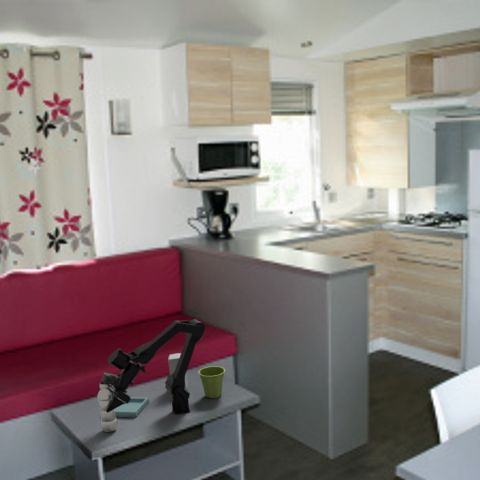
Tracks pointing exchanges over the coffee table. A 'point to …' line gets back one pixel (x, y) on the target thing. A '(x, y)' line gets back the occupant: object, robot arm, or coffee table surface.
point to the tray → (131, 407)
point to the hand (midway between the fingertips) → (104, 408)
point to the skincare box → (173, 363)
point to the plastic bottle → (104, 398)
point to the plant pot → (212, 380)
